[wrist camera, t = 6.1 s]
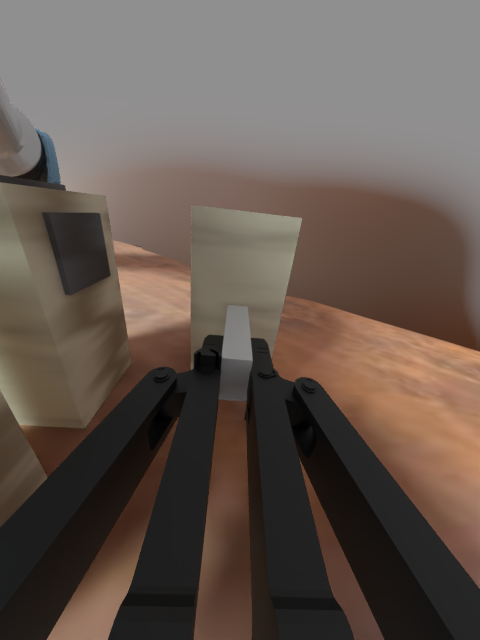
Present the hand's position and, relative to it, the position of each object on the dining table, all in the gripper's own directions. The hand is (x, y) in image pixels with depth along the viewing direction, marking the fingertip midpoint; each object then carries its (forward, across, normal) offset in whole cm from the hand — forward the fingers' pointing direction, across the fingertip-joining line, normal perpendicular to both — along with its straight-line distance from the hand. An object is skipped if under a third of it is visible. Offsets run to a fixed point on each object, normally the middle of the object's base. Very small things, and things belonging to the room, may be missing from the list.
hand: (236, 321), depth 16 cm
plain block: (+4, 0, -6) cm, 7 cm away
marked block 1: (-2, -13, -6) cm, 15 cm away
